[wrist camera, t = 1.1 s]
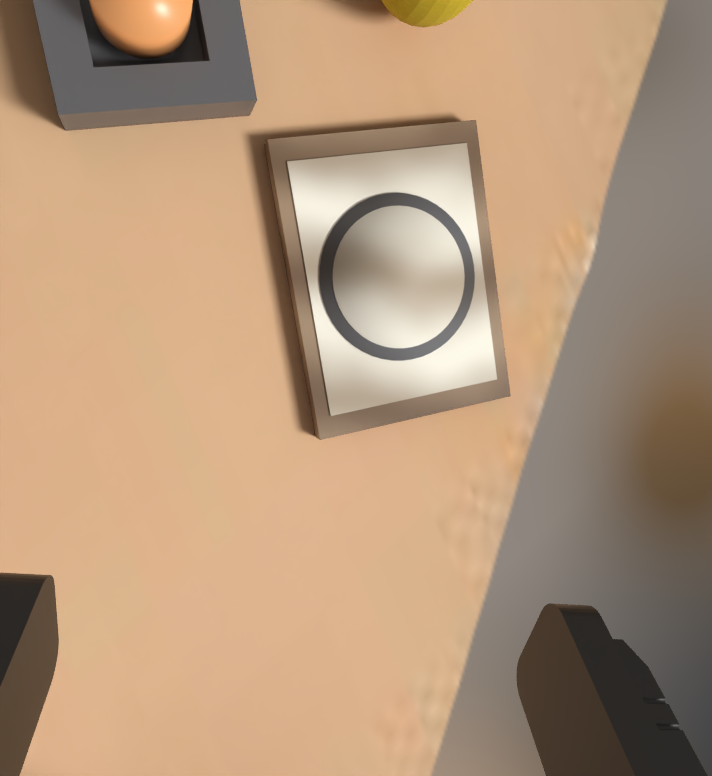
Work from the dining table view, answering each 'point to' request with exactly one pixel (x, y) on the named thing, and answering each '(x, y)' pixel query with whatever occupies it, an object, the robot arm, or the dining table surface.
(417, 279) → the drawing board
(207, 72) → the button housing
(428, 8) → the lemon
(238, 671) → the dining table surface
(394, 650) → the dining table surface
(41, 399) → the dining table surface
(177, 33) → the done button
